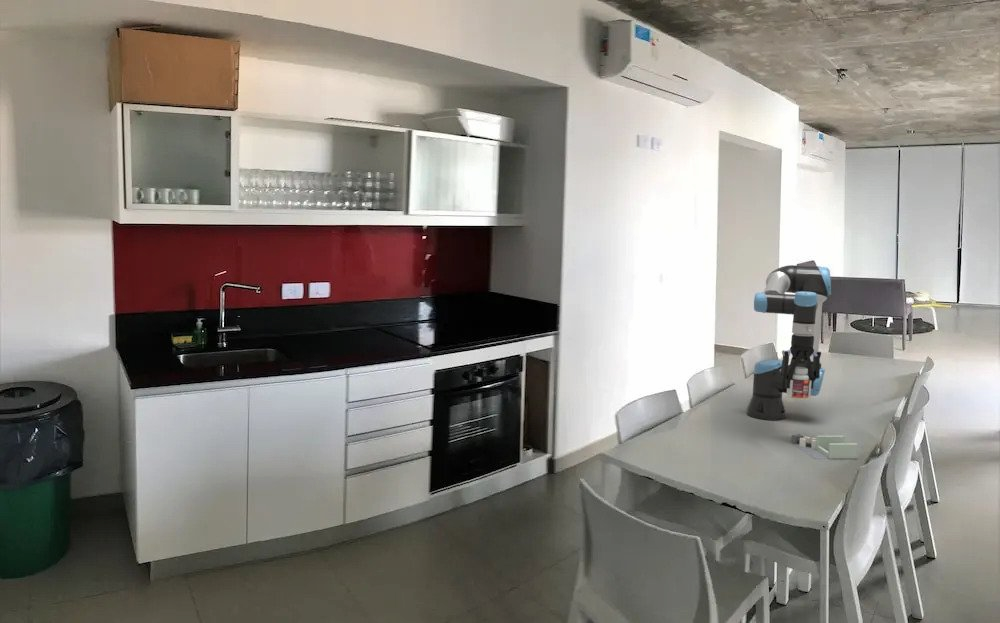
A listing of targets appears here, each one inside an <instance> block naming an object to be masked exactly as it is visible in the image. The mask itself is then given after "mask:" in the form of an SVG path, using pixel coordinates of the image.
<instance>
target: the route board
mask: <svg viewBox="0 0 1000 623" xmlns="http://www.w3.org/2000/svg"><path fill="white" fill-rule="evenodd" d="M816 438H817V437H808V436H804V435H803V434H801V433H800V434H799V433H797V434H792V435H791V444H792V445H794V446H795V447H797V448H798V449H800V450H801V451H803V452H804V453H805V454H807V455H809V456H810V457H812V459H814V460H830V459H829V458H828V457H826V456H825V455H823V454H822V453H820V452H819V451H817V450H816ZM827 451H828V450H827ZM852 459H853V460H854V459H855V460H857V459H858V458H845V459H844V460H852Z"/></svg>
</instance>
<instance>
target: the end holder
mask: <svg viewBox="0 0 1000 623" xmlns="http://www.w3.org/2000/svg"><path fill="white" fill-rule="evenodd" d="M815 438H816V450H817V451H819V452H820V453H822V454H823V455H825V456H826V457H828V458H829V459H828V460H834V459H835V460H846V459H845V458H857V456H858V446H859V444H858V443H857V442H856V443H854V442H851V443H845V435H816V437H815ZM827 450H828V451H827ZM857 459H858V458H857Z"/></svg>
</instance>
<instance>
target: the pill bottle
mask: <svg viewBox="0 0 1000 623" xmlns="http://www.w3.org/2000/svg"><path fill="white" fill-rule="evenodd" d="M807 373H808V368H805V367H796V368H795V370H794V374H793V375H792V378H791V380H793V388H792V398H791V399H793V400H796V401H806V400H807V399H808V398H807V397H808V383H809V376H808V375H806V374H807Z"/></svg>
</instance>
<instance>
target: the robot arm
mask: <svg viewBox="0 0 1000 623" xmlns="http://www.w3.org/2000/svg"><path fill="white" fill-rule="evenodd" d="M831 281H832V279H831V271H830V268H829V267H827V266H819V265H816V266H815V265H793V264H791V265H783V266H781V267H778V268H776V269H774V270H772V271H771V272H770V273H769V274H768V275H767V278H766V279H765V285H766V286H765V288H764V290H763V292H756V293H755V294H754V297H753V298H754V299H753V310H754V311H755V312H757V313H758V312H759V313H763V314H778V315H779V314H780V315H781V314H782V315H792V316H793V319H792V324H791V325H792V327H791V333H792V334H791V338H790V340H791V341H790V348H789V349H788V350H782V351H781V354H782V359H763V360H760V361H757V362H755V364H754V368H753V383H752V396H751V398H750V401H749V402H748V406H747V409H746V414H747V416H750V417H751V418H754V419H759V420H766V421H767V420H768V421H781V420H784V419H785V418H786V409H785V405H784V401H783V394H786V397H788V398H789V399H792V388H793V380H791V378H792V375H793V374H794V370H795V368H796V367H805V368H808V373H807V374H806V375H808V376H809V383H808V397H807V399H811V397H816V396H819V395H820V392H821V389H822V385H823V380H824V375H825V370H826V369H825V368H824V367H822V363H821V362H820V359H821V356H822V352H821V351H819V350H820V349H819V348H820V338H821V337H820V336H821V325H822V313H823V303H824V302H826V300H828V296H831V295H832V282H831ZM791 355H792V357H791V359H790V356H791ZM789 361H790V363H789Z"/></svg>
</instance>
